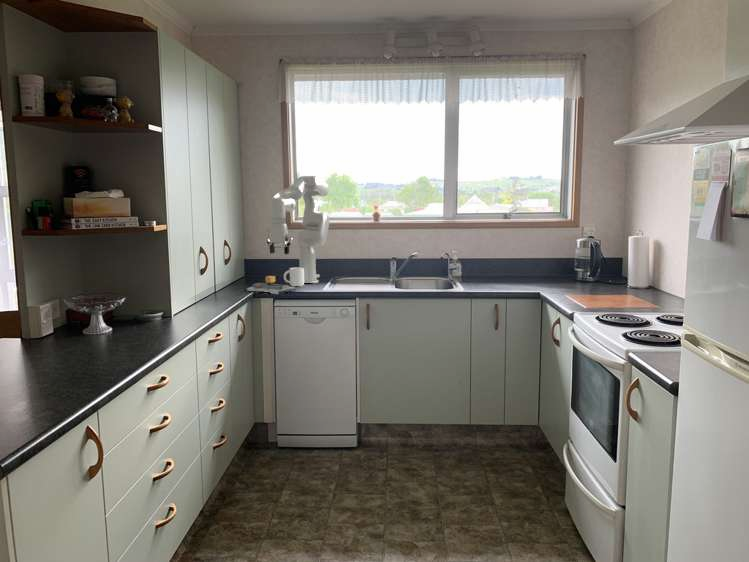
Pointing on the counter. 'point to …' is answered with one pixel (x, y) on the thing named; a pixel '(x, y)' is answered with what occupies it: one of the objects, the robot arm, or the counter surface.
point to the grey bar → (286, 291)
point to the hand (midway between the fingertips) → (279, 253)
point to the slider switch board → (269, 288)
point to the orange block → (270, 280)
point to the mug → (295, 276)
